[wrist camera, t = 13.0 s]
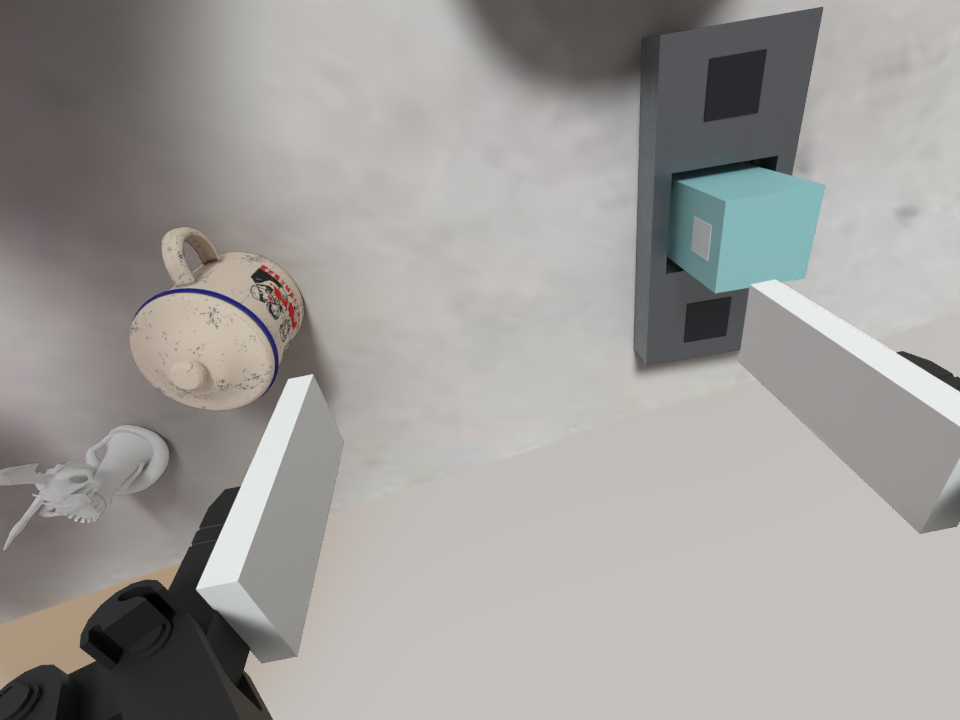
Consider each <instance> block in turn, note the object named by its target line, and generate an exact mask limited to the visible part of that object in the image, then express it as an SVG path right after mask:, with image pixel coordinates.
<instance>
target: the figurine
mask: <svg viewBox="0 0 960 720" xmlns="http://www.w3.org/2000/svg"><path fill="white" fill-rule="evenodd" d="M104 444H105V445H106V451H107V453H106V455H105V457H104V459H103V461H102V463H101V462H100V460H99V459H98V458H97V457H96V456H95V452H96V451H97V450H98V449H99V448H101V447H102V446H103V445H104ZM85 459H86V461H85V462H84V461H79V460H71V461H69V462H67V463H64V464H62V465H61V464H57V465H56V466H55V468H53V469H51V468H50V469H46V472H45V474H43V473H40V472H39V473H38V474H37V473H36V468H37V466H38V464H39V463H34V464H29V465H22V466H15V467H9V468H4V469H2V470H0V485H1V486H10V485H15V484H35V485H36V487H37V489H38V490H39V491H40V493H39V494H38V495H35V494H32V495H33V496H34V497H36V499H35V500H34V502H33V503H32V505H31V506H30V507H29V509H28V510H27V511H26V513H25V514H24V515H23V517H22V518H21V519H20V521H18V522H17V524H16V525H15V526H14V527H13V528H12V530H11V532H10V533H9V537H8V538H7V541H6V543H5V546H4V549H3V551H5V550H6V549H7V547H8V546H9V545H10V544H11V542H12V541H13V540H14V539H15V537H16V536H17V535H18V534H19V533H20V532H21V531H22V530H23V529H24V527H25V526H26V524H27V522H28V520H29V519H30V518H31V517H32V516H33V514H34V513H35V512H36V511H37V510H38V509H39V508H40V506H41V505H42V504H44V505H43V506H42V508H41V509H40V511H39V513H38V514H39V515H40V516H41V517H54V516H60V515H63V516H66V515H69V516H68V517H67V518H69V519H71V518H72V517H73V516H76V518H75V519H74V520H73V521H75V522H77V521H78V520H79V519H80V518H81V519H82V520H81V522H80V523H85V521H86V520H87V523H91V522H95V521H96V520H97V519H98V518H99V517H100V516H101V514H102V513H103V512H104V510H105V509H106V508H107V507H109V506H110V505H111V502H112V499H111V497H110V496H112V495H126V494H132V493H136V492H139V491H142V490H144V489H146V488H148V487H149V486H151V485H152V484H153V483H154V482H156V481H157V479H158V478H159V477H160V476H161V475H162V474H163V472H164V471H165V469H166V467H167V465H168V461H169V450H168V446H167V444H166V443H165V441H164V440H163V439H162V438H161V437H160V436H159V435H158V434H156V433H155V432H153V431H150V430H148V429H145V428H142V427H138V426H133V425H124V426H119V427H116V428H114V429H113V430H111V431H110V432H109V435H108V436H106V437H105V438H104V439H103V440H101V441H100V442H99V443H97V444H96V445H94V446H92V447H90V448H89V449H88V451H87V453H86V456H85ZM40 463H42V462H40ZM144 467H146V468H145V469H144V470H143V471H142V469H143V468H144ZM141 471H142V472H141ZM130 475H131V476H130ZM45 501H46V503H44V502H45ZM55 508H56V509H55ZM54 509H55V512H50V511H52V510H54Z"/></svg>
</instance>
